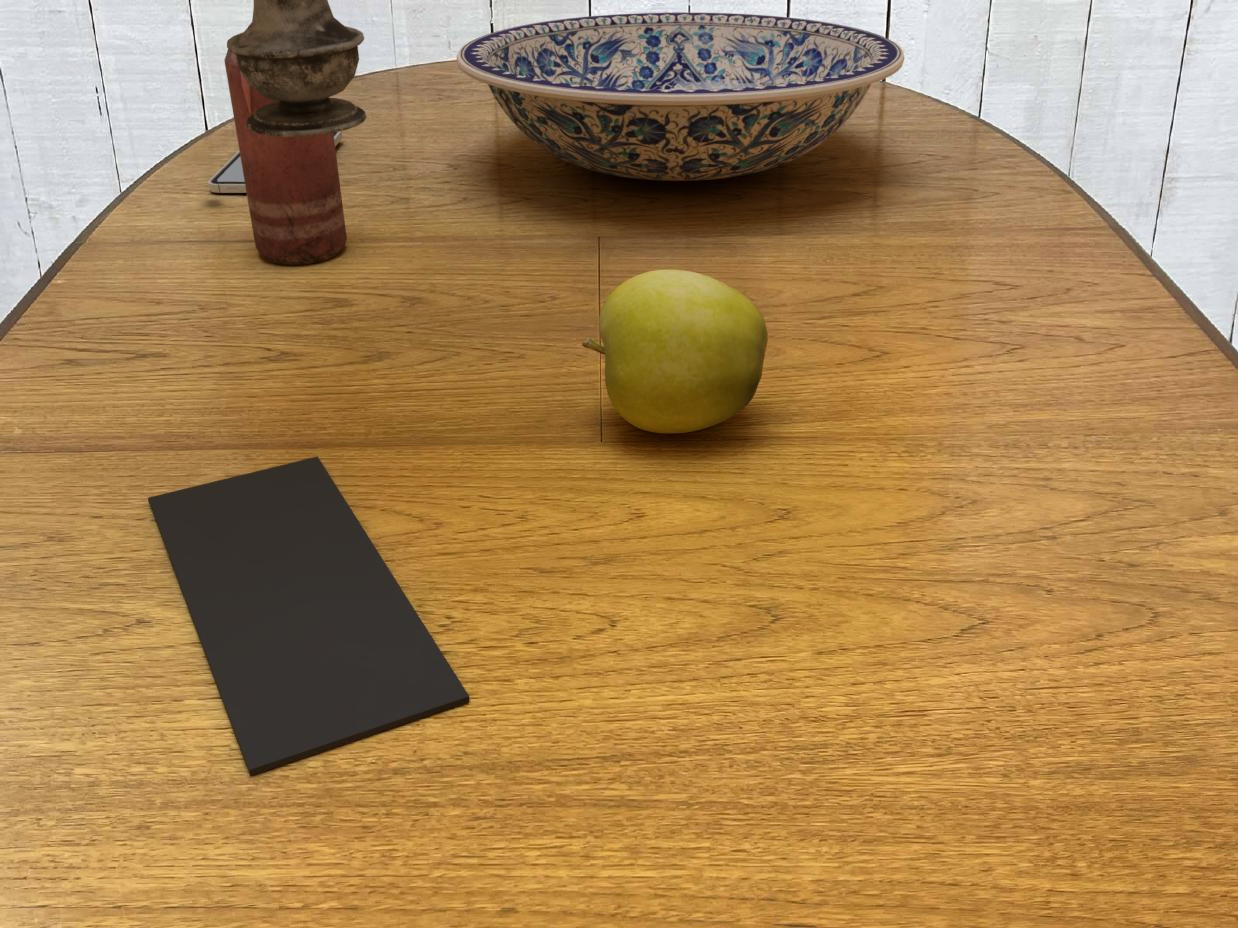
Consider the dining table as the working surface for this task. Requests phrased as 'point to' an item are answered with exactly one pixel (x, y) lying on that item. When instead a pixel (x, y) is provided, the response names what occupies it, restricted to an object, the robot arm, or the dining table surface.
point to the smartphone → (238, 174)
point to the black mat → (299, 614)
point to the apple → (680, 350)
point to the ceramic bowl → (679, 88)
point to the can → (287, 184)
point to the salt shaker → (299, 67)
